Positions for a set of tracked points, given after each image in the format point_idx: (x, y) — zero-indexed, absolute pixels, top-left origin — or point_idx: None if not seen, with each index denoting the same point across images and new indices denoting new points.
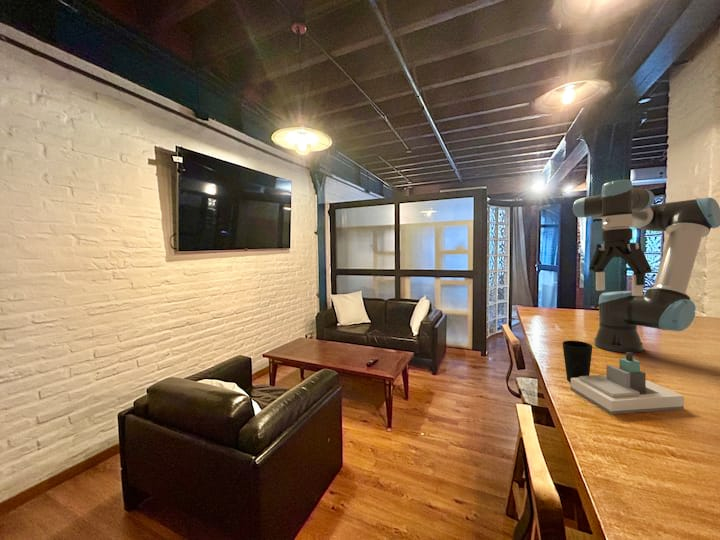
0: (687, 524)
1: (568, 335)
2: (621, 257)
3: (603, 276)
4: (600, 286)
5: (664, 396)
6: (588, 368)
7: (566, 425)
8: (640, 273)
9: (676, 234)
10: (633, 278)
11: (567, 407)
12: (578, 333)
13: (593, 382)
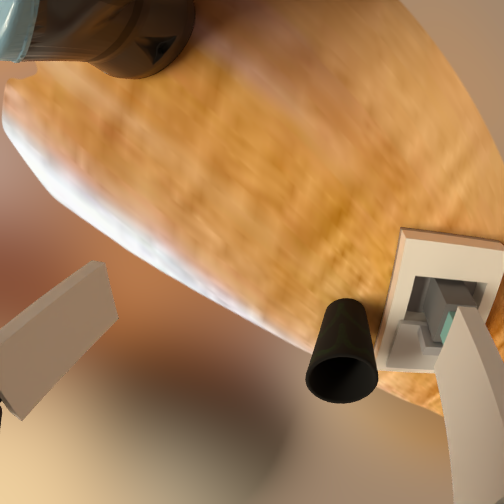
0: None
1: (49, 95)
2: None
3: (21, 343)
4: (93, 316)
5: (496, 286)
6: (370, 335)
7: (441, 414)
8: None
9: None
10: (469, 494)
11: (415, 392)
12: (42, 62)
13: (417, 365)
